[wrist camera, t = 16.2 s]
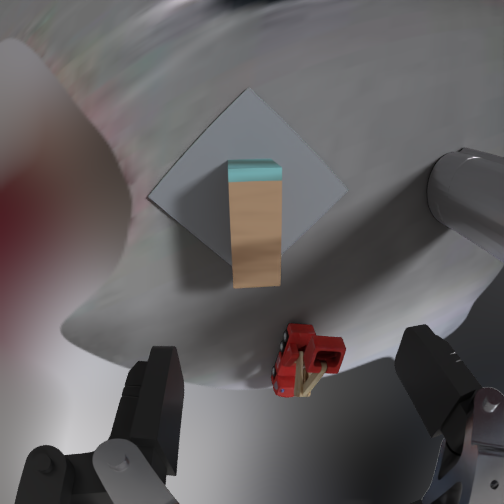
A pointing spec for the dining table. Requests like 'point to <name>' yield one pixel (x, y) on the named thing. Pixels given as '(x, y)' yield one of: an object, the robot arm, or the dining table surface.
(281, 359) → the toy fire truck
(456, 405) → the robot arm
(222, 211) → the grey mat
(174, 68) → the dining table surface
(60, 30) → the dining table surface
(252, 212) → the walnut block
